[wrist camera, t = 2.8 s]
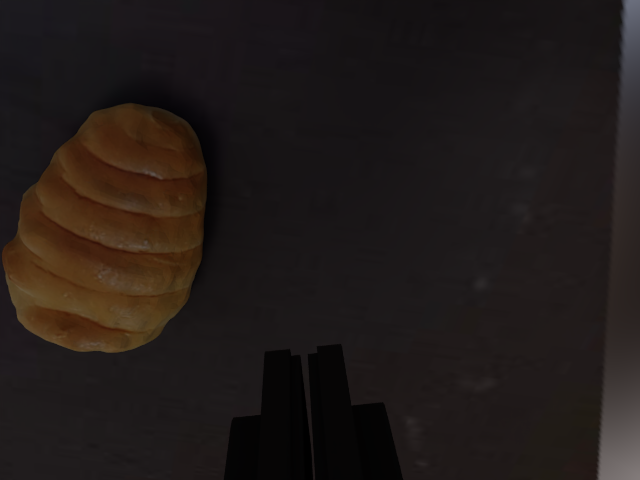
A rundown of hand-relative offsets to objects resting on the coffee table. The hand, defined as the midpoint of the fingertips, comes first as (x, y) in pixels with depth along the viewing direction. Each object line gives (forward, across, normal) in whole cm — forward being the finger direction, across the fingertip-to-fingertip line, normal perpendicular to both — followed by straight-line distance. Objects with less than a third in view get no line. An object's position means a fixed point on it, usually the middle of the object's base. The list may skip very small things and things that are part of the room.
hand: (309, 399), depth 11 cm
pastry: (+11, +7, 0) cm, 13 cm away
